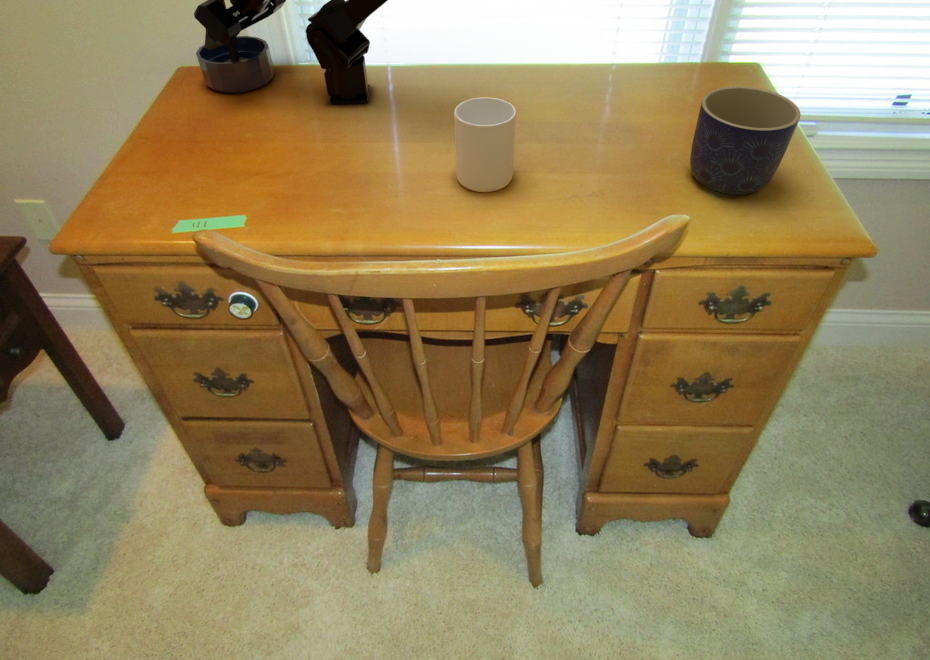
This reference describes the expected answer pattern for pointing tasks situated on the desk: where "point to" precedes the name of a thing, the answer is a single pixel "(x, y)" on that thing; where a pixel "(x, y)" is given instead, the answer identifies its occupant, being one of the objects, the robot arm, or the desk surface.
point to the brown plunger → (232, 47)
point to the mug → (484, 143)
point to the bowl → (237, 66)
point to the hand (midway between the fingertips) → (222, 38)
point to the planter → (741, 138)
